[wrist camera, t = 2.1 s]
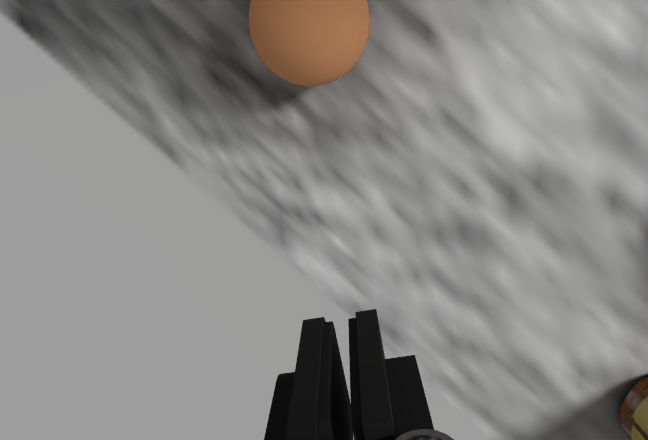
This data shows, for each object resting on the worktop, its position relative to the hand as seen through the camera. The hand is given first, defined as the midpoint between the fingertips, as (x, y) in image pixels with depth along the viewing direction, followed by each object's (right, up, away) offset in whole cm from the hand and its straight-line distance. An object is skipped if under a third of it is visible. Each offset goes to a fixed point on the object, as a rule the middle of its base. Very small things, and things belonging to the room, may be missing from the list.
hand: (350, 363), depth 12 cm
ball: (-1, +13, +9) cm, 16 cm away
